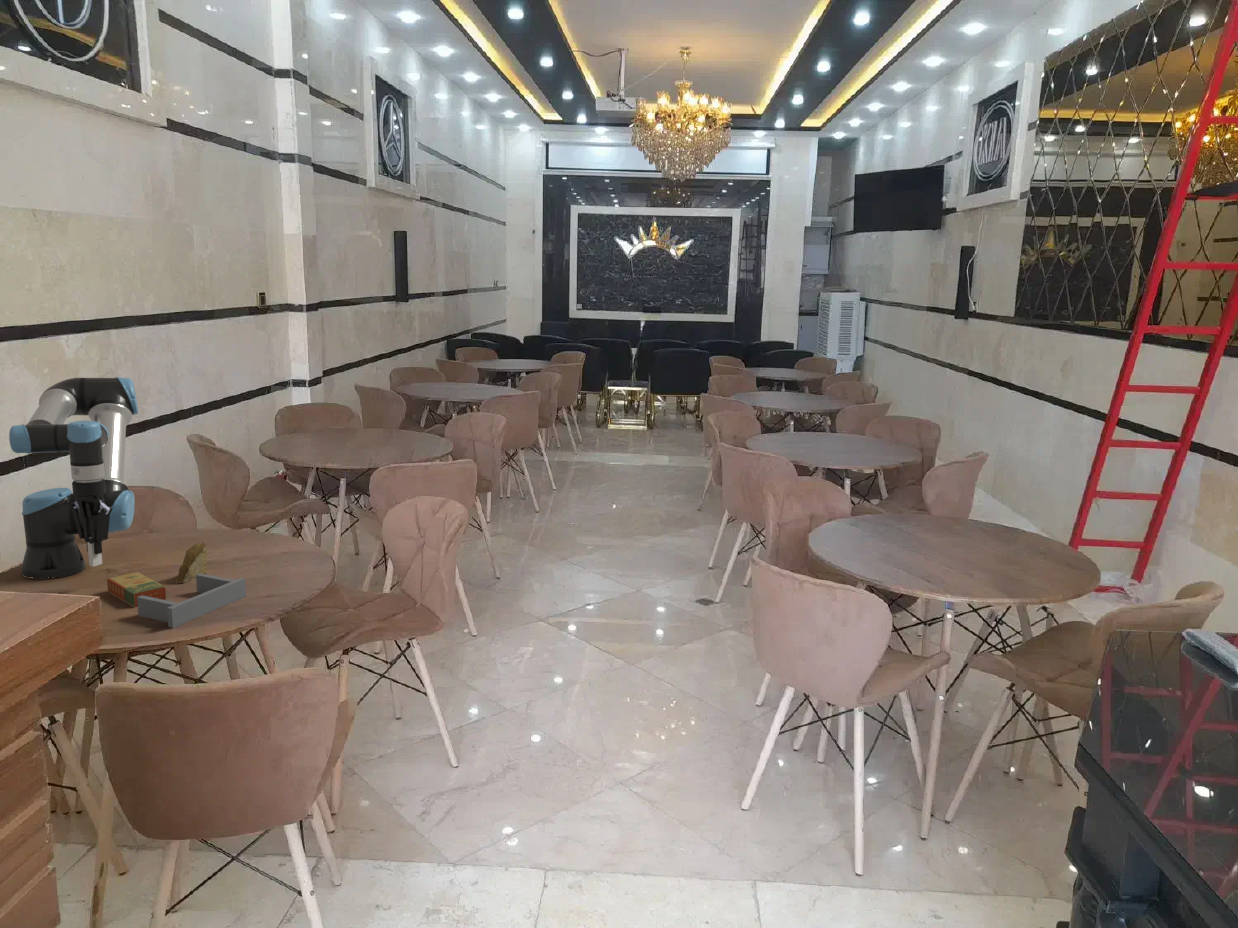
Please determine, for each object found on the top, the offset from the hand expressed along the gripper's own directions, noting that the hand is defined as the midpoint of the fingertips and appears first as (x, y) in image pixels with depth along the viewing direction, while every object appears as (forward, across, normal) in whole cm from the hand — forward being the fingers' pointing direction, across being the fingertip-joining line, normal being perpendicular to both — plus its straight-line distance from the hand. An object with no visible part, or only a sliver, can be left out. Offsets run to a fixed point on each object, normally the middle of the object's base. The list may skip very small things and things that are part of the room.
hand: (95, 564), depth 233 cm
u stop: (+7, +33, 0) cm, 33 cm away
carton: (+7, +14, 0) cm, 15 cm away
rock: (+7, +15, +17) cm, 24 cm away
